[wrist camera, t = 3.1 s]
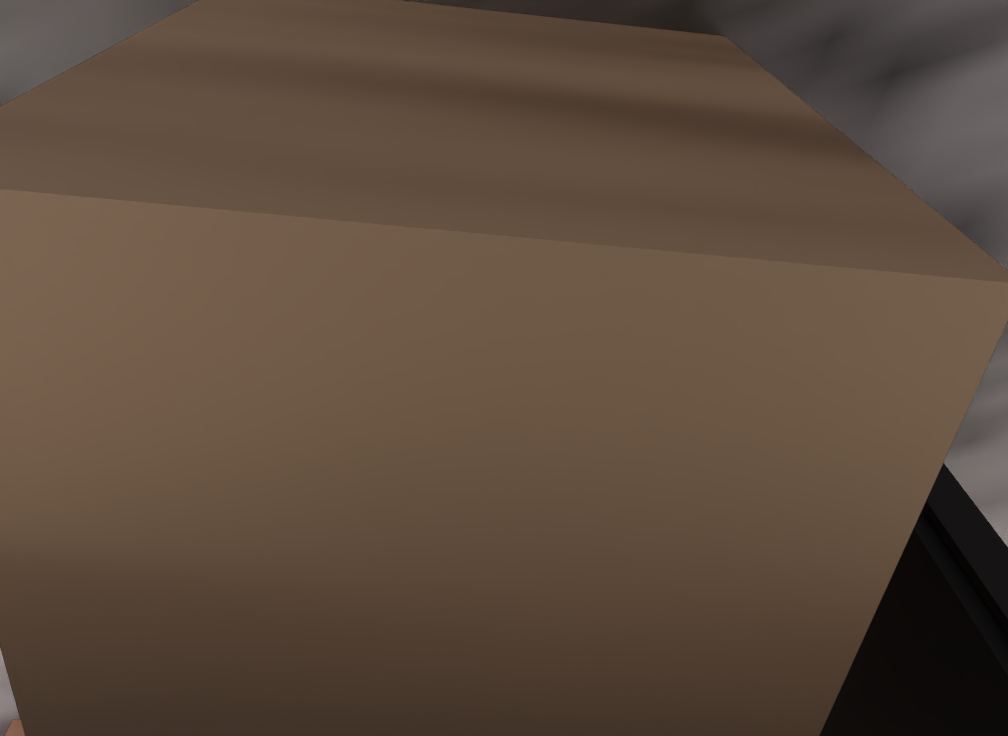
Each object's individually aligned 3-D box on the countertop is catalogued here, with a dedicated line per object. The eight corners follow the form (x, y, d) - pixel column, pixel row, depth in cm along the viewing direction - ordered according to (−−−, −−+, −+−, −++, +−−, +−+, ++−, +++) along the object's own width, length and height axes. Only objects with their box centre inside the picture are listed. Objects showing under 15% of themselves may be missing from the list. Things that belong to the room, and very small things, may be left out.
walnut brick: (234, -20, 9) (-133, 176, 4) (723, 34, 9) (1026, 283, 4) (266, 614, 13) (126, 1097, 8) (589, 635, 14) (647, 1113, 9)
